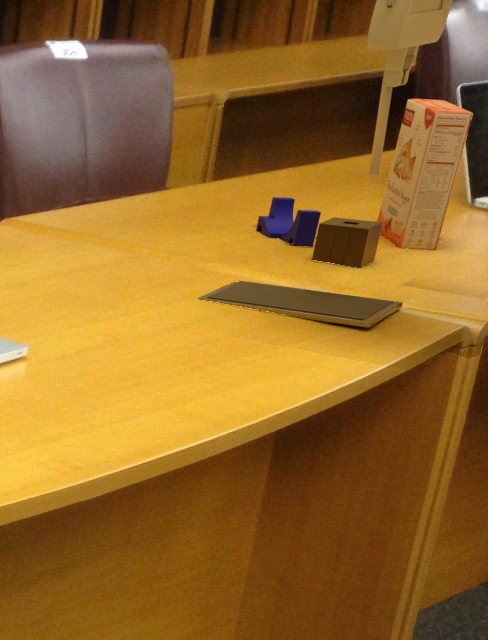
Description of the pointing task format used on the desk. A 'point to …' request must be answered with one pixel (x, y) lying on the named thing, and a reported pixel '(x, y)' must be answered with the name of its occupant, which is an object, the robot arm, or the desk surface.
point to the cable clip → (289, 223)
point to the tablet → (305, 303)
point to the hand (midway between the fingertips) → (394, 85)
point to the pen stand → (347, 241)
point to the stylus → (380, 131)
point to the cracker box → (423, 172)
